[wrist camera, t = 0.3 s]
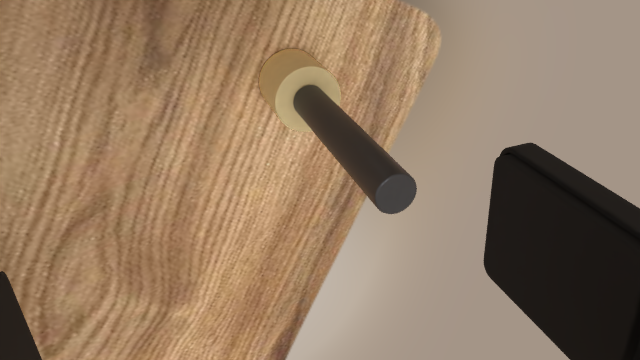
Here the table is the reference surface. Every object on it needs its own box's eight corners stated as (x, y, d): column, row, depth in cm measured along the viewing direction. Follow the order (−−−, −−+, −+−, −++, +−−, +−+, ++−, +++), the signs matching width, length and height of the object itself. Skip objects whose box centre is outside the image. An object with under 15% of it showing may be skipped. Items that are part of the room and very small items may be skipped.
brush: (257, 51, 36) (352, 157, 23) (319, 45, 37) (445, 143, 24) (260, 113, 38) (349, 243, 25) (319, 106, 39) (434, 227, 26)
